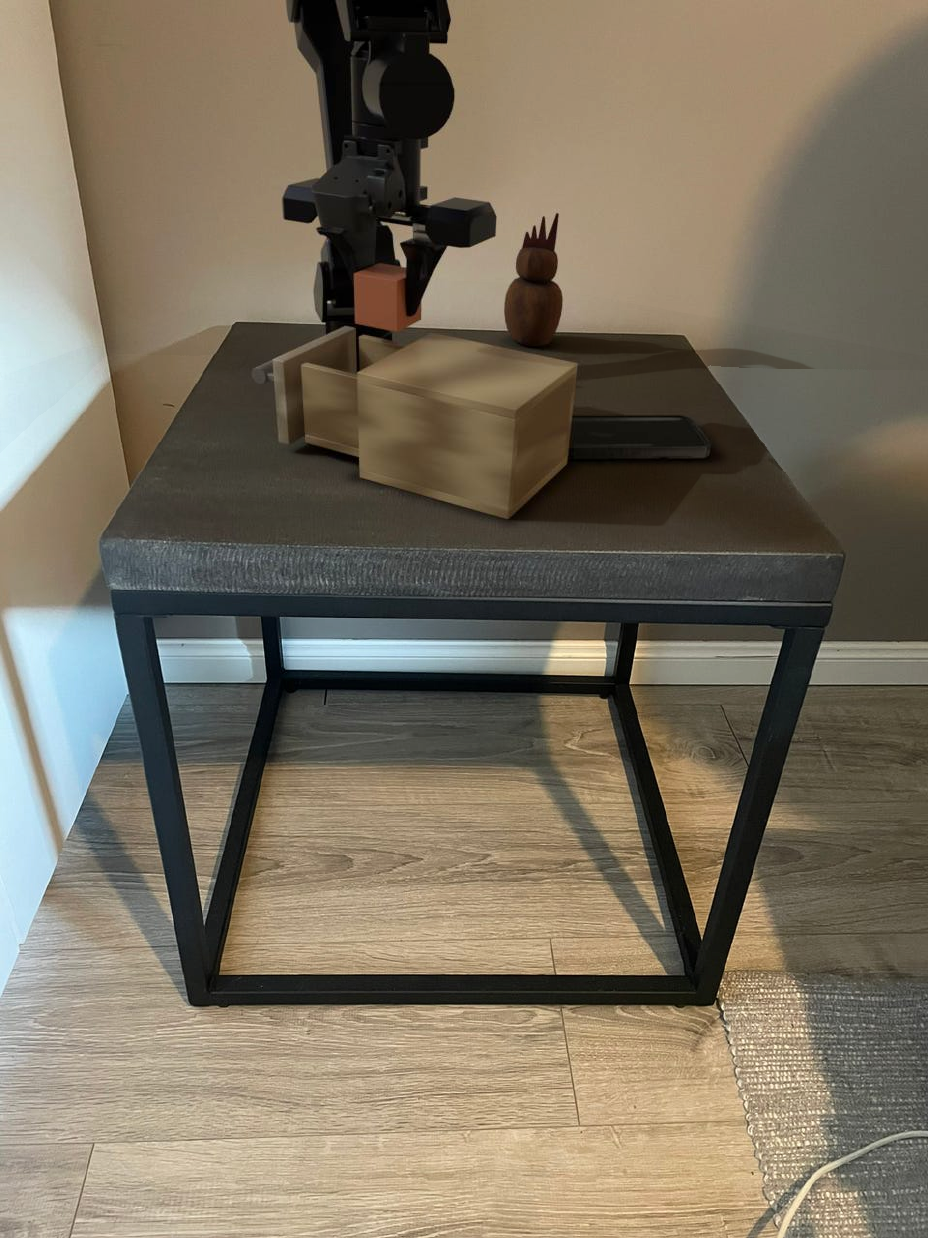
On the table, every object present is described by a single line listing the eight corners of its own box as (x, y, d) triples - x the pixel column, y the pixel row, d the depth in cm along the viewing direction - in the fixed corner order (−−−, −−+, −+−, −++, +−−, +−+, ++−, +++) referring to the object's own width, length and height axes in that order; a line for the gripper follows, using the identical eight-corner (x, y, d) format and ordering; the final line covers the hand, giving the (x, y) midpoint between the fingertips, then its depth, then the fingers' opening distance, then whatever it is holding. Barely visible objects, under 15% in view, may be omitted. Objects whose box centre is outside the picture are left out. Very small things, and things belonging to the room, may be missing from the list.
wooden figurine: (565, 342, 117) (579, 212, 108) (543, 354, 113) (555, 220, 104) (518, 330, 120) (527, 203, 111) (494, 342, 115) (502, 211, 107)
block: (354, 323, 87) (353, 273, 85) (380, 311, 91) (379, 262, 88) (397, 332, 86) (397, 280, 83) (421, 319, 89) (422, 270, 86)
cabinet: (359, 477, 84) (356, 372, 78) (429, 429, 93) (431, 332, 88) (508, 519, 78) (516, 409, 73) (566, 464, 88) (578, 363, 82)
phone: (543, 415, 94) (689, 414, 96) (542, 426, 95) (688, 425, 96) (558, 448, 88) (714, 447, 89) (556, 459, 88) (712, 458, 90)
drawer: (241, 431, 89) (233, 349, 84) (312, 393, 97) (308, 317, 93) (404, 477, 82) (405, 391, 78) (466, 432, 91) (469, 352, 86)
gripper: (234, 119, 76) (251, 315, 85) (440, 143, 69) (435, 353, 78) (314, 108, 84) (322, 287, 93) (504, 128, 78) (493, 319, 86)
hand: (388, 311), depth 87 cm, fingers closed on block, 4 cm apart
